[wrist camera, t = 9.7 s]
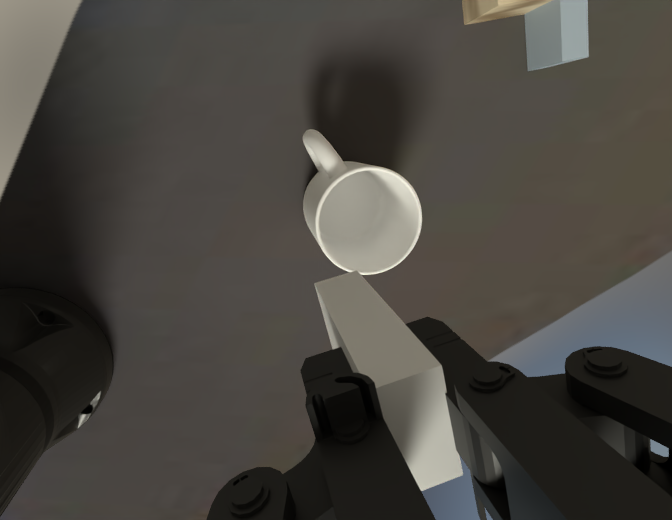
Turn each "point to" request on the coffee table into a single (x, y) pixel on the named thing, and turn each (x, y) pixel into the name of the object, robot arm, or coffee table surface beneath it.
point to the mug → (359, 210)
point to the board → (556, 33)
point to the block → (497, 9)
